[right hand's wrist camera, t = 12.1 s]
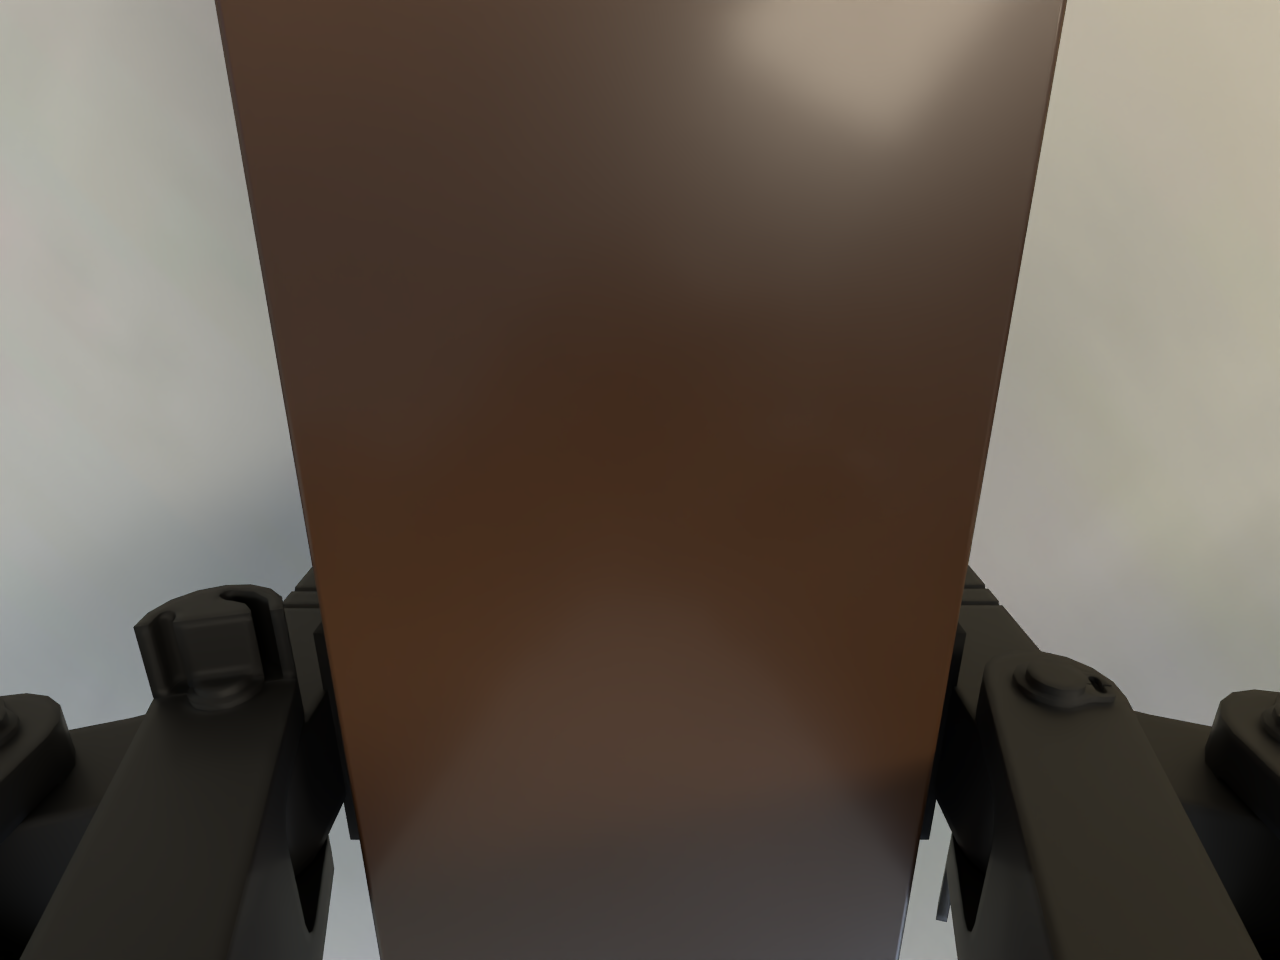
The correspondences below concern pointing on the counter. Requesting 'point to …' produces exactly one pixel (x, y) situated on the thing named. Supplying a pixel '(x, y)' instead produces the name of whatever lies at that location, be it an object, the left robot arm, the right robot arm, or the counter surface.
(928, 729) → the walnut beam
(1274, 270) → the counter surface
